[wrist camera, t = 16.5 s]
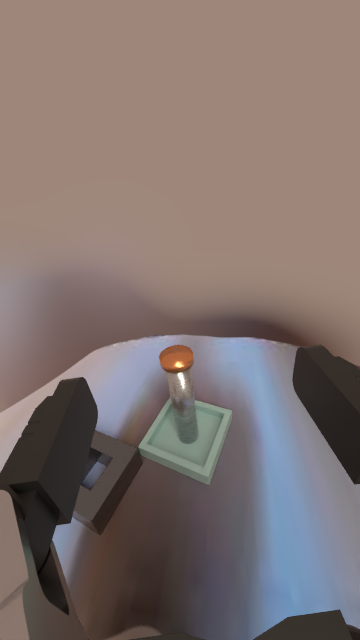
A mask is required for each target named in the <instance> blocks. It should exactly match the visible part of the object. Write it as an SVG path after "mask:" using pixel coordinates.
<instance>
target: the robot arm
mask: <svg viewBox="0 0 360 640" xmlns="http://www.w3.org/2000/svg"><path fill="white" fill-rule="evenodd" d="M293 386H294V390H295V392H296V394H297V396H298V397H299V399H300V400H301V402H302V403H303V405H304V407H305V408H306V410H307V411H308V413H309V414H310V416H311V417H312V419H313V421H314V422H315V424H316V425H317V427H318V428H319V430H320V431H321V433H322V435H323V436H324V438H325V439H326V441H327V442H328V444H329V445H330V447H331V449H332V450H333V452H334V453H335V455H336V456H337V458H338V460H339V461H340V463H341V464H342V466H343V467H344V469H345V470H346V472H347V474H348V475H349V477H350V478H351V480H352V481H353V483H354V484H360V370H359V369H358V368H357V367H356V366H355V365H353V364H352V363H350V362H348V361H346V360H344V359H343V358H341V357H334V356H333V355H332V354H331V353H330V352H329V351H328V350H327V349H326V348H325V347H324V346H322V345H314V346H306V347H300V348H298V349H297V352H296V358H295V365H294V371H293ZM97 419H98V410H97V405H96V403H95V400H94V398H93V396H92V393H91V391H90V388H89V386H88V384H87V381H86V380H85V378H83V377H80V378H73V379H66V380H61V381H60V382H59V384H58V386H57V388H56V390H55V392H54V394H53V396H47V397H46V398H45V400H44V401H43V402H42V403H41V404H40V405H39V406H38V407H37V408H36V409H35V411H34V412H33V414H32V416H31V418H30V420H29V421H28V425H27V426H26V427H25V429H24V431H23V432H22V434H21V435H22V436H21V438H19V440H18V442H17V443H16V445H15V447H14V449H13V451H12V452H11V454H10V456H9V458H8V460H7V462H6V463H5V465H4V467H3V469H2V471H1V473H0V640H89V637H88V635H87V633H86V631H85V629H84V627H83V626H82V624H81V622H80V620H79V618H78V616H77V614H76V611H75V608H74V605H73V602H72V599H71V596H70V593H69V590H68V586H67V583H66V580H65V577H64V574H63V571H62V568H61V564H60V561H59V558H58V555H57V552H56V549H55V546H54V543H53V541H52V538H53V534H54V531H55V528H56V525H61V524H68V523H71V519H72V515H73V512H74V508H75V504H76V500H77V496H78V493H79V489H80V485H81V481H82V477H83V473H84V470H85V466H86V462H87V458H88V454H89V451H90V447H91V443H92V439H93V435H94V431H95V428H96V424H97ZM131 640H205V639H202V638H198V637H195V636H191V635H188V634H184V633H181V632H180V633H173V634H166V635H160V636H152V637H146V638H138V639H131ZM253 640H360V629H358V628H356V627H354V626H351V625H347V624H346V623H345V621H344V618H343V616H342V613H341V611H340V610H334V611H327V612H320V613H313V614H306V615H299V616H292V617H287V618H286V619H284V620H283V621H281V622H280V623H278V624H276V625H275V626H273V627H272V628H270V629H269V630H267V631H266V632H264V633H262V634H261V635H259V636H258V637H256V638H255V639H253Z"/></svg>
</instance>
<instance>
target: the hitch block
mask: <svg viewBox="0 0 360 640" xmlns="http://www.w3.org/2000/svg"><path fill="white" fill-rule="evenodd" d="M97 461H98V462H100V463H102V464H104V465H106V466H107V468H106V469H105V471H104V472H103V474H102V475H101V477H100V478H99V479H98V481H97V482H96V484H95V485H94V487H93V488H92V489H91V491H90V490H88V489H87V488H85V487H83V486H82V485H80V489H79V493H78V496H77V500H76V504H75V508H74V512H73V515H72V517H74V518H75V519H77V520H78V521H80V522H81V523H83V524H84V525H86V526H87V527H89V528H90V529H92V530H93V531H94V532H96V533H97V534H99V535H101V534H102V532H103V530H104V528H105V527H106V525H107V523H108V522H109V520H110V518H111V516H112V515H113V513H114V511H115V510H116V508H117V506H118V504H119V503H120V501H121V499H122V498H123V496H124V494H125V493H126V491H127V489H128V487H129V486H130V484H131V482H132V481H133V479H134V477H135V475H136V474H137V472H138V470H139V469H140V467H141V465H142V460H141V457H140V454H139V451H138V449H137V448H135V447H133V446H131V445H128V444H126V443H124V442H121V441H119V440H117V439H114V438H112V437H110V436H107V435H105V434H103V433H101V432H98V431H96V430H95V431H94V435H93V439H92V443H91V447H90V451H89V454H88V458H87V462H86V466H85V470H84V473H83V477H82V481H83V479H84V478H85V477H86V475H87V474H88V473H89V471H90V470H91V469H92V467H93V466H94V465H95V463H96V462H97ZM82 481H81V482H82Z"/></svg>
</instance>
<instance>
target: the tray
mask: <svg viewBox="0 0 360 640" xmlns="http://www.w3.org/2000/svg"><path fill="white" fill-rule="evenodd" d="M195 406H196V414H197V423H198V431H199V436H198V439H197V440H196V441H195V442H194V443H191V444H184V443H182V442H181V441H180V440H179V438H178V434H177V428H176V423H175V418H174V413H173V407H172V402H171V397H169V399H168V401H167V402H166V404H165V405H164V407H163V409H162V410H161V412H160V413H159V415H158V416H157V418H156V420H155V421H154V423H153V424H152V426H151V427H150V429H149V431H148V432H147V434H146V435H145V437H144V439H143V440H142V442H141V443H140V445H139V446H138V448H139V451H140V454H141V456H143V457H146V458H148V459H150V460H152V461H155V462H157V463H159V464H161V465H164V466H166V467H168V468H170V469H173V470H175V471H177V472H179V473H182V474H184V475H186V476H188V477H191V478H193V479H195V480H197V481H200V482H202V483H204V484H206V485H210V482H211V479H212V476H213V473H214V470H215V468H216V465H217V462H218V459H219V456H220V453H221V450H222V447H223V444H224V441H225V438H226V435H227V432H228V429H229V426H230V423H231V421H232V411H231V410H228V409H224V408H221V407H217V406H214V405H211V404H207V403H204V402H200V401H197V400H195Z"/></svg>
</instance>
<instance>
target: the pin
mask: <svg viewBox="0 0 360 640" xmlns="http://www.w3.org/2000/svg"><path fill="white" fill-rule="evenodd" d="M159 359H160V364H161V367H162V369H163V370H164V371H166V376H167V381H168V386H169V392H170V397H171V402H172V407H173V413H174V418H175V423H176V428H177V434H178V438H179V440H180V441H181V442H182V443H184V444H191V443H194V442H195V441H196V440H197V439H198V436H199V431H198V423H197V414H196V406H195V398H194V390H193V381H192V373H191V367H192V365H193V362H194V360H193V352H192V350H191V349H190V348H188V347H186V346H183V345H175V346H171V347H168V348H166V349H164V350H163V351H162V352H161V354H160V356H159Z"/></svg>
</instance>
